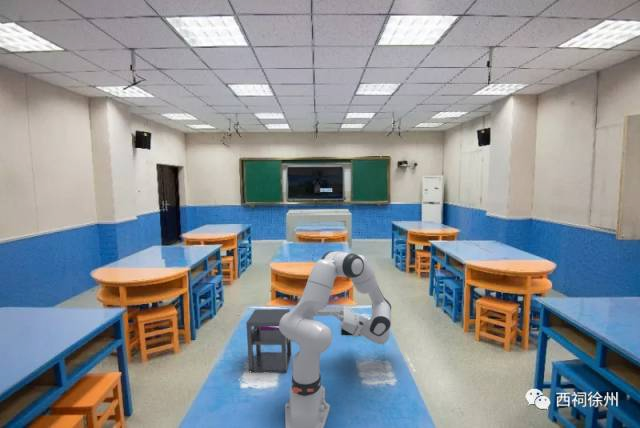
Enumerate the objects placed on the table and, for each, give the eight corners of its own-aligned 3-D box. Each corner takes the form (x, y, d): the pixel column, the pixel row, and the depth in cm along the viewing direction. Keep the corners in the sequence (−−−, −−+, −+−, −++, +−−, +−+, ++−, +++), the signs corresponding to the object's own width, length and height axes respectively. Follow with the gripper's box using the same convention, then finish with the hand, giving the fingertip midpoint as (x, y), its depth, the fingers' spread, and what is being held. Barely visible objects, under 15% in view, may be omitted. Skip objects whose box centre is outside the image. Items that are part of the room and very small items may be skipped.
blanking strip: (340, 315, 156) (340, 311, 156) (293, 315, 158) (293, 312, 158) (340, 312, 160) (340, 308, 160) (294, 312, 162) (294, 308, 162)
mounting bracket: (269, 340, 199) (257, 341, 183) (271, 326, 202) (259, 326, 185) (283, 342, 196) (272, 343, 180) (285, 328, 199) (274, 327, 183)
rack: (287, 372, 154) (285, 322, 152) (249, 372, 156) (246, 322, 153) (292, 355, 170) (290, 309, 168) (257, 354, 172) (255, 309, 169)
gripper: (359, 310, 168) (337, 298, 168) (362, 328, 148) (336, 314, 148) (354, 319, 169) (331, 307, 169) (356, 339, 148) (330, 325, 149)
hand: (334, 311), depth 158 cm, fingers closed on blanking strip, 4 cm apart
